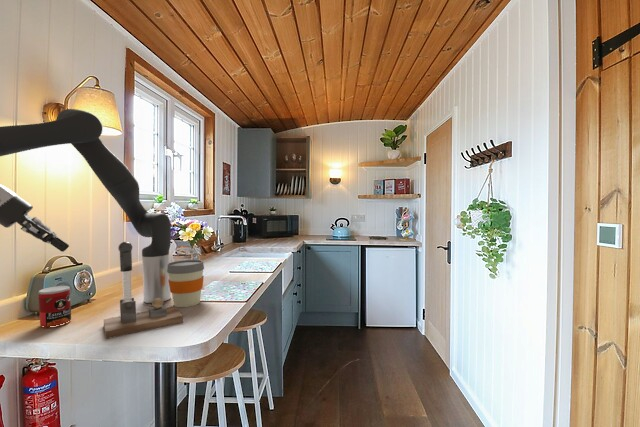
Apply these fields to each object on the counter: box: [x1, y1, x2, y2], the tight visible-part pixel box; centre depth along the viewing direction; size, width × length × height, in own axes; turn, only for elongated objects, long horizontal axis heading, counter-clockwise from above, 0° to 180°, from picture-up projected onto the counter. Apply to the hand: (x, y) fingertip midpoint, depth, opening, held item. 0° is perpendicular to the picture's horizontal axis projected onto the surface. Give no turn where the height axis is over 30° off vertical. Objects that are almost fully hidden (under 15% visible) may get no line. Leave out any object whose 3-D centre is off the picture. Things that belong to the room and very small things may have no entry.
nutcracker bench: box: [103, 297, 184, 339], centre depth 101 cm, size 12×20×8 cm, turn 125°
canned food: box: [38, 285, 72, 327], centre depth 103 cm, size 8×8×11 cm
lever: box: [117, 241, 133, 303], centre depth 98 cm, size 4×4×20 cm
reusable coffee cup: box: [167, 259, 205, 308], centre depth 121 cm, size 13×13×15 cm
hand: (66, 248), depth 90 cm, fingers closed
